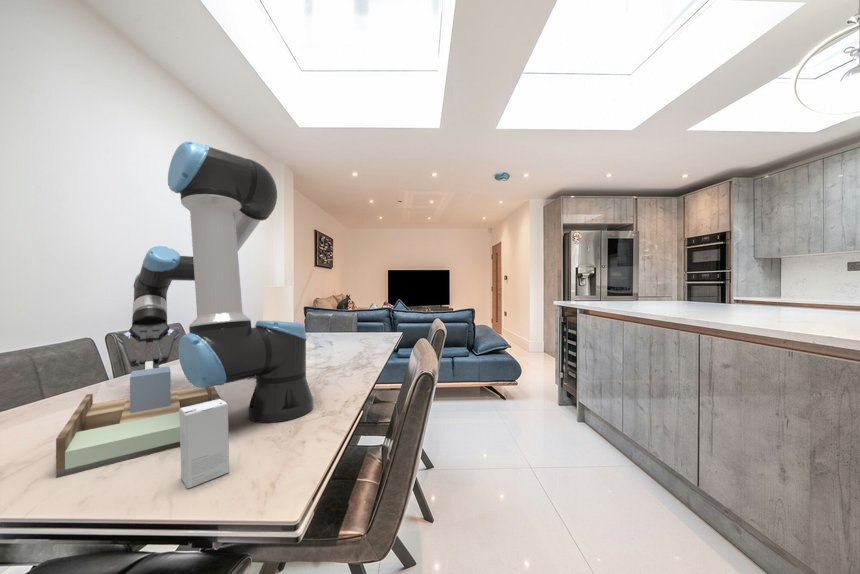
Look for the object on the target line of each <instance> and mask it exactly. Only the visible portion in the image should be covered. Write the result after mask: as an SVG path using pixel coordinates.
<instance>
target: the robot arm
mask: <svg viewBox="0 0 860 574" xmlns="http://www.w3.org/2000/svg"><path fill="white" fill-rule="evenodd" d="M173 153H174V154H173V156H172V158H171V161H170V163H169V167H168V172H167V173H168V174H167V186H168V188H169V190H170V191H172V192H173V193H175V194H180V204H181V205H182V206H183V207H184V208H185V209H187V211H189V212H190V213H189V214H190V216H189V217H190V228H191V243H192V244H191V245H192V256H190V255H189V256H188V255H180V253H179V251H177V250H176V249H174V248H172V247H171V248H169V247H168V246H165V245H157V246H152V247H151V248H149V250H148V251H147V252H146V253H145V257H144V258H143V261H142V265H141V268H140V271H139V273H138V274H137V275H136V276H135V278H134V283H133V303H132V318H131V327H130V328H129V329H128V331H127V332H120V333H118V334H117V339H118V340H117V341H118V342H119V343H120V345H122V346H123V348H124V352H125V355H126V357H127V360H128V362H129V365H130V367H134V368H135V367H138V370H145V369H153V368H160V365H161V364H167V363H168V361H169V358H170V356H171V352H172V349H173V347H174V344H175V341H176V340H177V339H178V338H179V336H180V329H178V328H175V329H172V328H170V326H169V325H168V304H167V303H168V301H167V299H168V298H167V296H168V290H169V288H170V285H171V283H172V281H191V282H194V288H195V289H194V291H195V304H196V306H195V307H196V319H194V320H193V321H192V322H191V323H190V324H189V326H188V329H189V332H188V333H186V334H184V335H182V336H181V338H180V339H179V341H178V350H177V352H178V360H179V363H180V368H181V370H182V372H183V375H184V376H185V377H186V380H188V382H189V383H190V384H191V385H193V386H194V387H199V388H206V387H211V386H214V387H215V386H219V387H221V386H224V385H225V384H228V383H234V382H237V381H242V380H246V379H252V378H255V380H256V382H255V387H254V390H253V391H252V395H251V398H250V401H249V404H248V409H247V413H248V414H247V415H248V419H250V420H251V421H253V422H258V423H278V422H285V421H289V420H293V419H296V418H300V417H301V416H304V415H306V414H308V413H309V412H311V410H313V408H314V397H313V395H312V392H311V389H310V387H309V384H308V380H307V378H306V377H307V375H306V374H307V373H306V372H307V363H306V362H307V353H306V352H307V349H306V348H307V347H306V345H307V343H306V342H307V341H308V340H307V339H308V338H307V335H306V334H307V333H306V327H305V325H304V324H303V323H300V322H293V321H291V322H290V321H280V320H276V321H275V320H257V321H256V322H255V325H254V327H252V322H251V321H252V320H251V318H249V317H248V316H247V315H246V314H244V312H243V302H242V289H241V288H242V287H241V278H240V277H241V276H240V263H239V261H240V260H239V251H240V249H241V248H242V247H243V246H244V244H245V243H246V241H247V240H248V238H250V236H251V234H252V233H253V232H254V231H255V230H256V228H257V226H259V224H260V222H261V221H265V220H267V219H268V218H269V217H270V216H271V215H272V213H273V211H274V210H275V208H276V204H277V200H278V190H277V189H278V188H277V184H276V182H275V180H274V177H273V176H272V174H271V173H270V171H269V170H268V169H267V168H266V167H265V166H264V165H262V164H261V163H260V162H257V161H256V160H253V159H250V158H245V157H242V156H240V155H237V154H233V153H230V152H227V151H224V150H221V149H219V148H215V147H212V146H209V144H202V143H199V142H195V141H191V140H190V141H189V140H187V141H184V142H182V143H180V144H179V146H177V148H176V150H175V151H174V152H173ZM166 335H167V337H168V338H167V341H166V343H165V346H164V349H163V351H162V354H161V356H160V344H159V343H160V341H161V340H162V339H163V338H165V337H166ZM131 337H132V338H133V339H135V340H136V341H137V342H138V343H139V356H138V357H139V358H137V357H136V355H135V351H134V349H133V346H132V344H131ZM148 343H152V360H151V361H150V360H149V361H147V346H148V345H147V344H148Z"/></svg>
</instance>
